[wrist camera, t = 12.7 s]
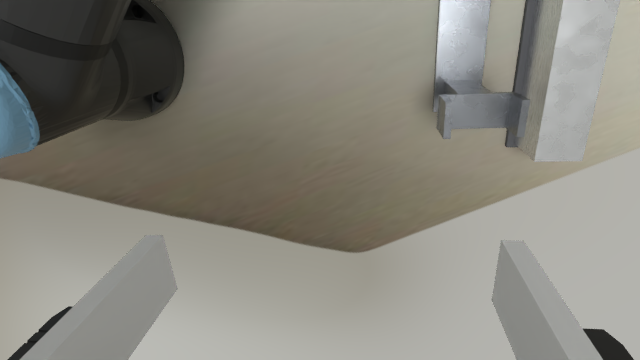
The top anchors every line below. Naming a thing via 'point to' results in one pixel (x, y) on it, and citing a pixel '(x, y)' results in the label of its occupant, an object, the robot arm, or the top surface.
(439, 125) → the standards
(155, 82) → the robot arm
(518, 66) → the mat
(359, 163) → the top surface
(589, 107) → the rail
